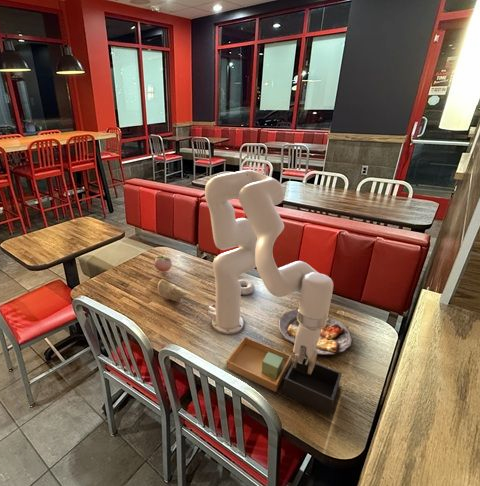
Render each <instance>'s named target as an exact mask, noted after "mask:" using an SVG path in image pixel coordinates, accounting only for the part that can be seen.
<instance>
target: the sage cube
mask: <svg viewBox="0 0 480 486" xmlns="http://www.w3.org/2000/svg"><path fill="white" fill-rule="evenodd" d="M282 364H283V358H282V357H280V356H277V355H275V354H273V353H270V352H268V353H267V355H266V356H265V358H264V360H263V361H262V373H263V374H265V375H268V376H270V377H272V378H274V379H277V377H278V376H279V374H280V372H281V370H282Z"/></svg>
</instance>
